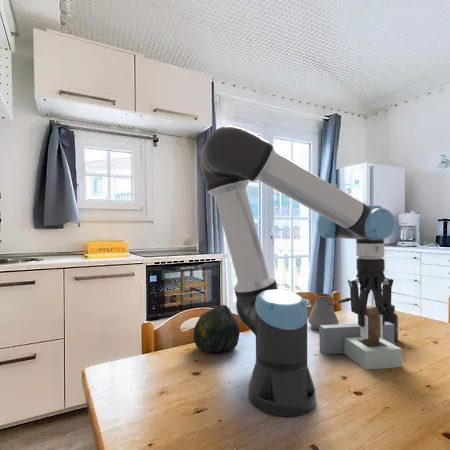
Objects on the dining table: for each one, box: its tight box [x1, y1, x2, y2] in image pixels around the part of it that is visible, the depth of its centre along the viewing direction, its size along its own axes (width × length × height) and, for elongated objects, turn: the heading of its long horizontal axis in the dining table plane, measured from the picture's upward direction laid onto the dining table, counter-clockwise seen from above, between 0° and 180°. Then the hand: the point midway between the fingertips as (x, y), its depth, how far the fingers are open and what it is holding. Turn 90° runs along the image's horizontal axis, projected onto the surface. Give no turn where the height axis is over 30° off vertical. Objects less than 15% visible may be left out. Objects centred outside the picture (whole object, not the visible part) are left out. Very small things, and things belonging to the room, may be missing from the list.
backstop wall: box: [318, 322, 395, 355], centre depth 97 cm, size 24×3×8 cm, turn 99°
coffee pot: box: [307, 293, 351, 331], centre depth 116 cm, size 21×12×15 cm, turn 36°
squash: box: [193, 304, 241, 353], centre depth 99 cm, size 14×15×15 cm
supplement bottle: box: [385, 304, 399, 343], centre depth 107 cm, size 7×7×12 cm
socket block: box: [343, 336, 403, 370], centre depth 90 cm, size 11×11×5 cm
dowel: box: [364, 305, 379, 347], centre depth 90 cm, size 4×4×12 cm
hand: (371, 336), depth 90 cm, fingers closed on dowel, 4 cm apart
